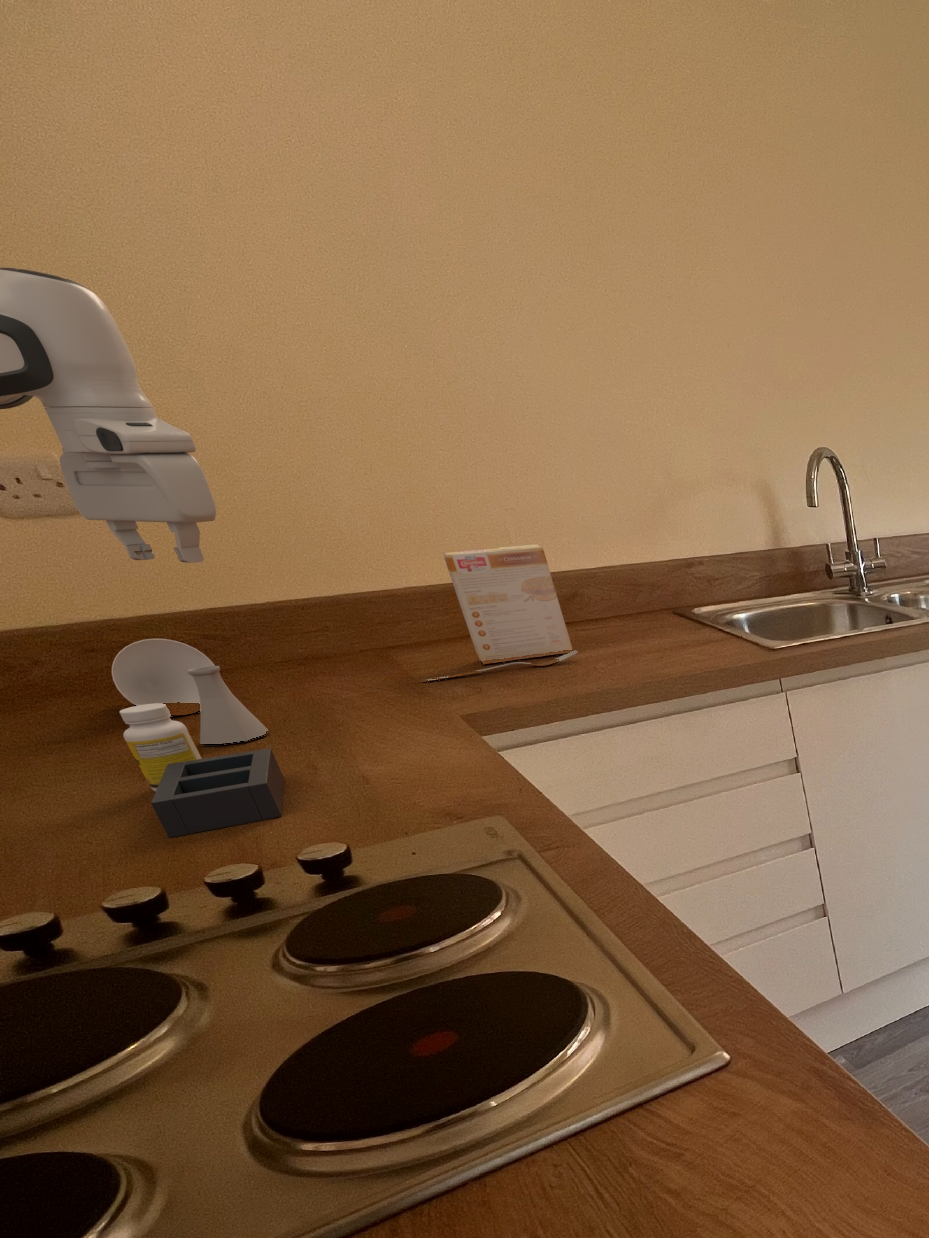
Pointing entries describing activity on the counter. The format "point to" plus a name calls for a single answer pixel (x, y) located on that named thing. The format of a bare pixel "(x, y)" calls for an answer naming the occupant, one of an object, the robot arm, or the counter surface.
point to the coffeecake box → (508, 601)
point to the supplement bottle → (156, 740)
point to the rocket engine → (158, 672)
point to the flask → (222, 710)
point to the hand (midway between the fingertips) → (168, 560)
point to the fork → (524, 662)
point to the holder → (219, 792)
